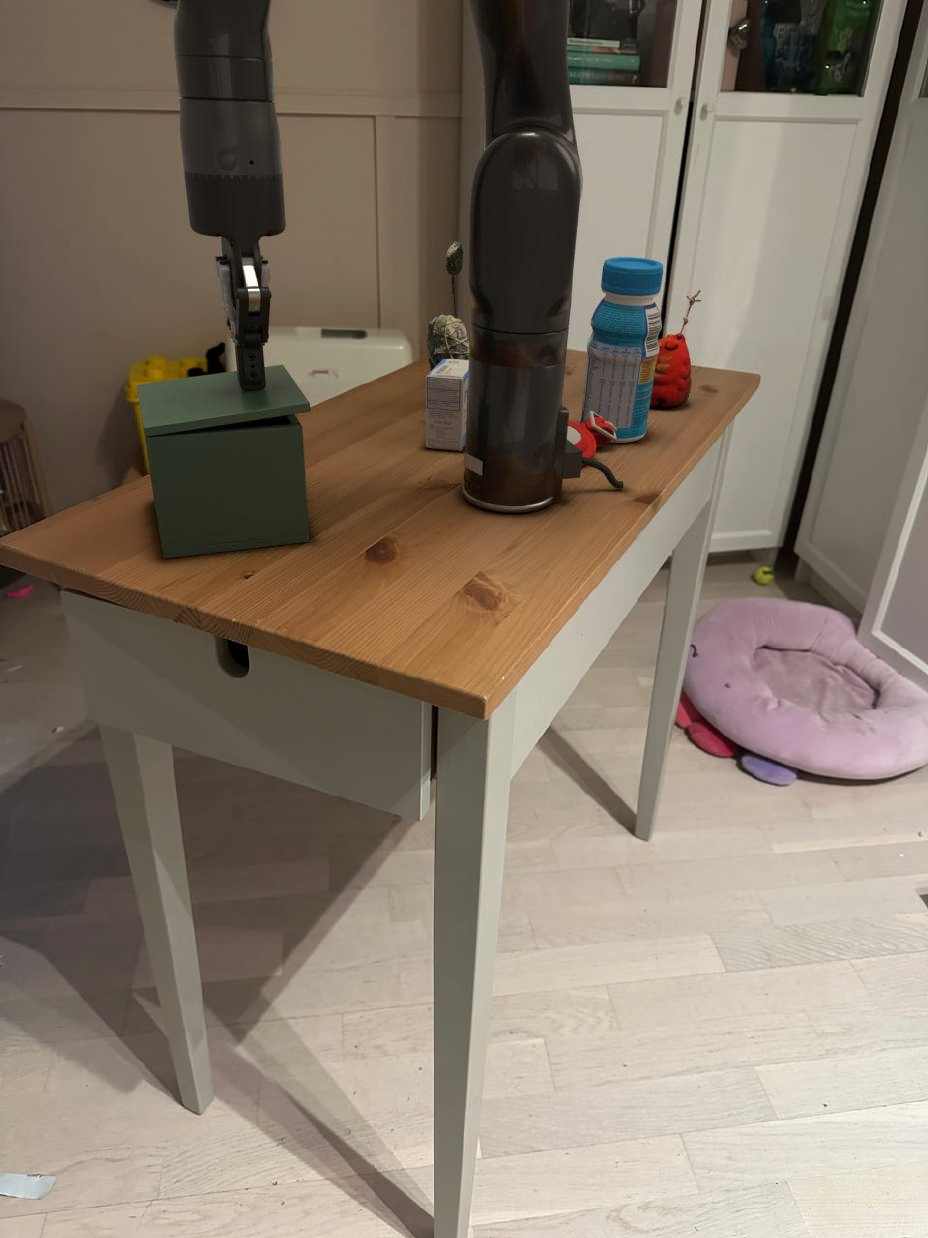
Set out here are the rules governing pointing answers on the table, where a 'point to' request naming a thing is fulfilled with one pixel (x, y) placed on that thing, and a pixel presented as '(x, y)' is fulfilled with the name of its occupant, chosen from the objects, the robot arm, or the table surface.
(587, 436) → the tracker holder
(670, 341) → the red clay folk toy
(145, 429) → the lid
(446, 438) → the medicine box
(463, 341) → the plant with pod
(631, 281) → the beverage bottle
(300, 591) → the table surface
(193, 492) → the chest
